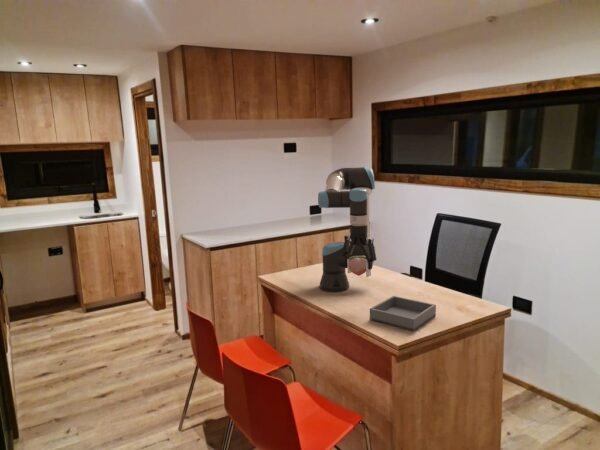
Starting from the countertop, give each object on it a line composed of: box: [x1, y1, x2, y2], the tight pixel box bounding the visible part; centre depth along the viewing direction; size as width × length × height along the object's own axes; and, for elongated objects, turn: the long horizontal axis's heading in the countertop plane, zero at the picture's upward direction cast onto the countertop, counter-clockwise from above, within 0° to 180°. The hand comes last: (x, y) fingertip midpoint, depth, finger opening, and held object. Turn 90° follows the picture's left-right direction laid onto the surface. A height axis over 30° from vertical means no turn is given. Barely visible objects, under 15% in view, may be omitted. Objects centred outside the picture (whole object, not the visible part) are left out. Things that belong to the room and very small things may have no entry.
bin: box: [369, 295, 437, 333], centre depth 190 cm, size 20×20×5 cm
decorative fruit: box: [348, 254, 368, 276], centre depth 201 cm, size 9×8×10 cm
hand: (359, 274), depth 201 cm, fingers closed on decorative fruit, 9 cm apart
